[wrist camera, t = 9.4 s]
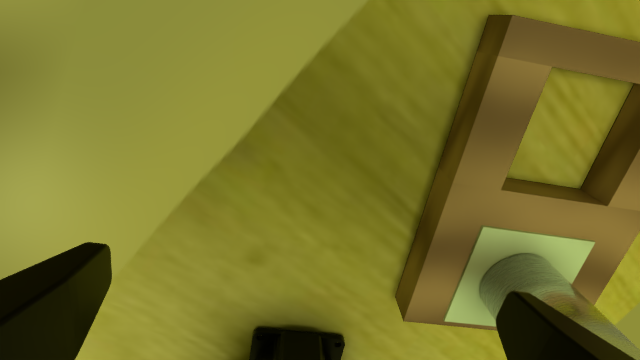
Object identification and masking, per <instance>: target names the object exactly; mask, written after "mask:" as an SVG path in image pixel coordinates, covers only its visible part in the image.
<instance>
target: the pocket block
mask: <svg viewBox="0 0 640 360" xmlns="http://www.w3.org/2000/svg"><path fill="white" fill-rule="evenodd" d="M552 67H556V68H561V69H566V70H571V71H576V72H581V73H586V74H592V75H597V76H602V77H607V78H612V79H617V80H622V81H627V82H632V83H635V84H634V86H633V88H632V90H631V92H630V94H629V96H628V98H627V100H626V101H625V103H624V105H623V107H622V109H621V111H620V113H619V115H618V117H617V119H616V121H615V123H614V125H613V127H612V129H611V131H610V133H609V135H608V137H607V139H606V141H605V142H604V144H603V146H602V148H601V150H600V152H599V154H598V156H597V158H596V160H595V162H594V164H593V166H592V168H591V170H590V172H589V174H588V176H587V178H586V180H585V181H584V183H583V185H582V187H581V189H576V188H569V187H563V186H556V185H550V184H544V183H537V182H531V181H524V180H518V179H511V178H506V176H507V174H508V172H509V169H510V167H511V164H512V162H513V160H514V157H515V155H516V152H517V150H518V148H519V145H520V143H521V140H522V138H523V136H524V133H525V131H526V128H527V126H528V124H529V121H530V119H531V116H532V114H533V112H534V109H535V107H536V104H537V102H538V100H539V97H540V95H541V92H542V90H543V88H544V85H545V83H546V80H547V78H548V76H549V73H550V71H551V68H552ZM639 231H640V42H637V41H632V40H627V39H623V38H618V37H613V36H609V35H604V34H599V33H595V32H590V31H585V30H580V29H576V28H571V27H566V26H562V25H557V24H552V23H548V22H543V21H538V20H533V19H529V18H524V17H519V16H515V15H489V17H488V20H487V23H486V26H485V29H484V32H483V35H482V38H481V41H480V44H479V47H478V50H477V53H476V56H475V59H474V62H473V65H472V68H471V71H470V74H469V77H468V80H467V83H466V86H465V89H464V92H463V95H462V98H461V101H460V104H459V107H458V110H457V113H456V116H455V119H454V122H453V125H452V128H451V131H450V134H449V137H448V140H447V143H446V146H445V149H444V152H443V155H442V158H441V161H440V164H439V167H438V170H437V173H436V176H435V179H434V182H433V185H432V188H431V191H430V194H429V197H428V200H427V203H426V206H425V209H424V212H423V215H422V218H421V221H420V224H419V227H418V230H417V233H416V236H415V239H414V242H413V245H412V248H411V251H410V254H409V257H408V260H407V263H406V266H405V269H404V272H403V275H402V278H401V281H400V284H399V287H398V290H397V293H396V296H395V298H396V301H397V303H398V306H399V309H400V312H401V315H402V318H403V321H407V322H417V323H427V324H437V325H447V326H457V327H468V328H478V329H488V330H497V328H496V321H495V320H494V318H493V317H492V315H491V314H490V312H489V311H488V309H487V308H486V306H485V305H484V303H483V302H482V300H481V297H480V286H481V282H482V280H483V278H484V276H485V275H486V274H487V272H488V271H489V270H490V269H491V268H492V267H493V266H494V265H496V264H497V263H498V262H500V261H502V260H503V259H506V258H508V257H510V256H513V255H517V254H527V253H528V254H536V255H539V256H541V257H543V258H545V259H546V260H547V261H548V262H549V263H550V264H551V265H552V266H553V267H554V268H555V269H557V270H558V271H559V272H560V273H561V274H562V275H563V276H564V277H565V278H566V279H567V280H568V281H569V282H570V283H571V284H572V285H573V286H574V287H575V288H576V289H577V290H578V291H579V292H580V293H581V294H582V295H583V296H584V297H585V298H586V299H587V300H589V301H590V302H591V303H592V304H593V305H594V304H595V303H596V301H597V299H598V298H599V296H600V295H601V293H602V291H603V290H604V288H605V286H606V285H607V283H608V282H609V280H610V278H611V277H612V275H613V273H614V272H615V270H616V269H617V267H618V265H619V264H620V262H621V260H622V259H623V257H624V256H625V254H626V252H627V251H628V249H629V247H630V246H631V244H632V242H633V241H634V239H635V238H636V236H637V234H638V233H639Z"/></svg>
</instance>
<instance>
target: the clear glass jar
mask: <svg viewBox="0 0 640 360" xmlns="http://www.w3.org/2000/svg"><path fill="white" fill-rule="evenodd" d="M510 291H522V292H528V293H530V294H532V295H534V296H535V297H537V298H538V299H540V300H542V301H543V302H545V303H546V304H548V305H550V306H551V307H553V308H554V309H556V310H558V311H559V312H561V313H562V314H564V315H566V316H567V317H569V318H570V319H572V320H574V321H575V322H577V323H578V324H580V325H581V326H583V327H585V328H586V329H588V330H589V331H591V332H593V333H594V334H596V335H597V336H599V337H601V338H602V339H604V340H605V341H607V342H609V343H610V344H612V345H613V346H615V347H617V348H618V349H620V350H621V351H623V352H625V353H626V354H628V355H629V356H631V357H633V358H634V359H636V360H640V350H639V349H638V348H637V347H636V346H635V345H634V344H633V343H632V342H631V341H629V339H628V338H627V337H626V336H625V335H624V334H623V333H621V331H619V330H618V329H617V328H616V327H615V326H614V325H613V324H612V323H611V322H610V321H609V320H608V319H607V318H606V317H605V316H604V315H603V314H602V313H601V312H600V311H599V310H598V309H597V308H596V307H595V306H594V305H593V304H592V303H591V302H590V301H589V300H587V299H586V298H585V297H584V296H583V295H582V294H581V293H580V292H579V291H578V290H577V289H576V288H575V287H574V286H573V285H572V284H571V283H570V282H569V281H568V280H567V279H566V278H565V277H564V276H563V275H562V274H561V273H560V272H559V271H558V270H557V269H555V268H554V267H553V266H552V265H551V264H550V263H549V262H548V261H547V260H546V259H545V258H543V257H541V256H539V255H536V254H528V253H527V254H517V255H513V256H510V257H508V258H506V259H503V260H502V261H500V262H498V263H497V264H496V265H494V266H493V267H492V268H491V269H490V270H489V271H488V272H487V274H486V275H485V276H484V278H483V280H482V282H481V286H480V297H481V300H482V302H483V303H484V305H485V306H486V308H487V309H488V311H489V312H490V314H491V315H492V317H493V318H494V320H495V321H496V316H497V314H498V312H499V310H500V307H501V305H502V303H503V301H504V299H505V297H506V295H507V294H508V293H509V292H510Z"/></svg>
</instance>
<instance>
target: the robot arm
mask: <svg viewBox="0 0 640 360" xmlns="http://www.w3.org/2000/svg"><path fill="white" fill-rule="evenodd" d="M111 279H112V270H111V252H110V248H109V246H108V245H106V244H100V243H92V242H87V243H84V244H81V245H79V246H77V247H74V248H72V249H70V250H68V251H65V252H63V253H61V254H58V255H56V256H54V257H52V258H49V259H47V260H45V261H42V262H40V263H38V264H35V265H34V266H31V267H29V268H26V269H24V270H22V271H19V272H17V273H15V274H13V275H10V276H8V277H6V278H3V279H1V280H0V360H75V358H76V357H77V355H78V353H79V351H80V349H81V347H82V345H83V343H84V340H85V338H86V336H87V334H88V332H89V330H90V328H91V326H92V323H93V321H94V319H95V317H96V315H97V313H98V311H99V309H100V306H101V304H102V302H103V300H104V298H105V296H106V294H107V292H108V289H109V287H110V284H111ZM496 328H497V331H498V334H499V337H500V339H501V342H502V345H503V348H504V351H505V354H506V357H507V360H636V359H634V358H633V357H631V356H629V355H628V354H626V353H625V352H623V351H621V350H620V349H618V348H617V347H615V346H613V345H612V344H610V343H609V342H607V341H605V340H604V339H602V338H601V337H599V336H597V335H596V334H594V333H593V332H591V331H589V330H588V329H586V328H585V327H583V326H581V325H580V324H578V323H577V322H575V321H574V320H572V319H570V318H569V317H567V316H566V315H564V314H562V313H561V312H559V311H558V310H556V309H554V308H553V307H551V306H550V305H548V304H546V303H545V302H543V301H542V300H540V299H538V298H537V297H535V296H534V295H532V294H530V293H528V292H522V291H510V292H509V293H508V294H507V295H506V297H505V299H504V301H503V303H502V305H501V307H500V310H499V312H498V314H497V316H496ZM259 335H262V336H259ZM336 342H339V343H336ZM344 346H345V342H344V338H343V337H342V336H341V335H333V334H322V333H312V332H301V331H290V330H279V329H269V328H257V329H255V330H254V332H253V338H252V345H251V352H250V359H249V360H341V356H342V353H343V349H344Z"/></svg>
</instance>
